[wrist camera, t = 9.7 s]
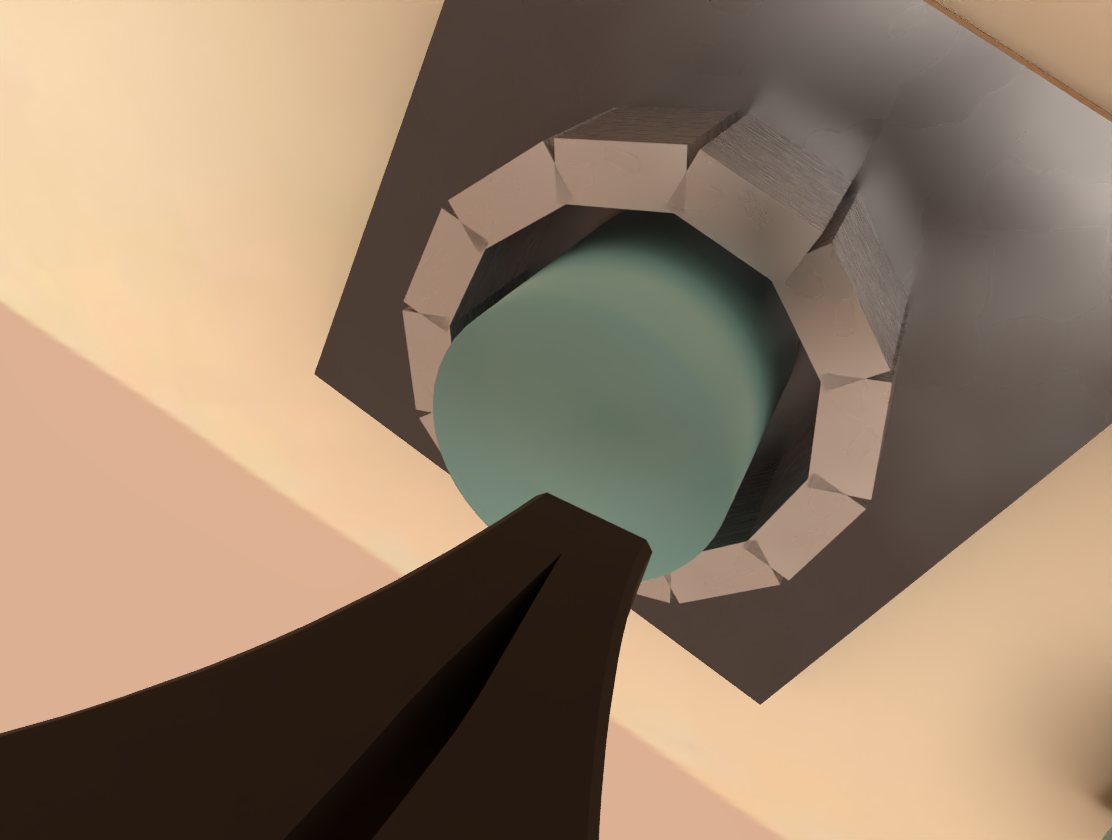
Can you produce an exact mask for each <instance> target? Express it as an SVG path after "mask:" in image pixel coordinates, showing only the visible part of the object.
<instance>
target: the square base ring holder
mask: <svg viewBox="0 0 1112 840" xmlns="http://www.w3.org/2000/svg"><path fill="white" fill-rule="evenodd" d="M631 210H642V211H654V212H666V213H674V214H676V215H677V216H679V217H680V218H682V219H683V220H685V221H686V222H687V223H689V224H690V225H692V226H693V227H695V228H696V229H698V230H699V231H701V232H702V233H703V234H705V235H706V236H708V237H709V238H711V239H712V240H714V241H715V242H716V243H718V244H719V245H721V246H722V247H724V248H725V249H727V250H728V251H729V252H731V253H732V254H734V255H735V256H737V257H738V258H740V259H741V260H743V261H744V262H745V263H747V264H748V265H750V266H751V267H753V268H754V269H756V270H757V271H758V272H760V273H761V274H763V275H764V276H766V277H767V278H769V279H770V280H771V281H772V282H773V284H774V286H775V289H776V291H777V293H778V295H779V297H780V299H781V301H782V303H783V305H784V307H785V309H786V311H787V313H788V315H789V317H790V319H791V322H792V324H793V326H794V328H795V330H796V332H797V334H798V336H799V341H798V352H797V356H796V361H795V365H794V368H793V371H792V373H791V376H790V378H789V381H788V383H787V385H786V387H785V389H784V391H783V394H782V396H781V398H780V400H779V402H778V404H777V407H776V409H775V411H774V413H773V415H772V417H771V420H770V422H769V424H768V426H767V428H766V430H765V433H764V435H763V437H762V439H761V441H760V443H759V445H758V448H757V450H756V452H755V454H754V456H753V458H752V461H751V463H750V465H749V467H748V469H747V471H746V474H745V476H744V478H743V480H742V482H741V484H740V487H739V489H738V491H737V493H736V495H735V497H734V499H733V502H732V504H731V506H730V508H729V510H728V512H727V515H726V517H725V519H724V521H723V523H722V525H721V527H720V528H719V530H718V532H717V533H716V535H715V537H714V538H713V540H712V541H711V542H710V543H709V544H708V546H707V547H706V548H705V549H704V550H703V551H702V552H701V553H700V554H699V555H698V556H696V557H695V558H694V559H693V560H692V561H690V562H689V563H687V564H686V565H684V566H682V567H681V568H679V569H677V570H675V571H673V572H671V573H668V574H666V575H663V576H661V577H658V578H653V579H649V580H645V581H641V584H640V586H639V589H638V591H637V594H636V597H635V599H634V602H633V604H632V607H631V609H632V610H633V611H635V612H636V613H637V614H639V615H640V616H641V617H643V618H644V619H645V620H647V621H648V622H649V623H651V624H652V625H653V626H655V627H656V628H657V629H659V630H660V631H661V632H663V633H664V634H666V635H667V636H668V637H670V638H671V639H672V640H674V641H675V642H676V643H678V644H679V645H680V646H682V647H683V648H684V649H686V650H687V651H688V652H690V653H691V654H693V655H694V656H695V657H697V658H698V659H699V660H701V661H702V662H703V663H705V664H706V665H707V666H709V667H710V668H711V669H713V670H714V671H715V672H717V673H718V674H719V675H721V676H722V677H724V678H725V679H726V680H728V681H729V682H730V683H732V684H733V685H734V686H736V687H737V688H738V689H740V690H741V691H742V692H744V693H745V694H746V695H748V696H749V697H751V698H752V699H753V700H755V701H756V702H757V703H759V704H760V705H761V704H762V703H763V702H764V701H766V700H767V699H768V698H769V697H770V696H772V695H773V694H774V693H775V692H777V691H778V690H779V689H780V688H782V687H783V686H784V685H785V684H787V683H788V682H789V681H790V680H792V679H793V678H794V677H795V676H797V675H798V674H799V673H800V672H802V671H803V670H804V669H805V668H807V667H808V666H809V665H810V664H812V663H813V662H814V661H815V660H817V659H818V658H819V657H820V656H822V655H823V654H824V653H825V652H827V651H828V650H829V649H830V648H832V647H833V646H834V645H835V644H837V643H838V642H839V641H840V640H842V639H843V638H844V637H845V636H847V635H848V634H849V633H850V632H852V631H853V630H854V629H855V628H857V627H858V626H859V625H860V624H862V623H863V622H864V621H865V620H867V619H868V618H869V617H870V616H872V615H873V614H874V613H875V612H877V611H878V610H879V609H880V608H882V607H883V606H884V605H885V604H887V603H888V602H889V601H890V600H892V599H893V598H894V597H895V596H897V595H898V594H899V593H900V592H902V591H903V590H904V589H905V588H907V587H908V586H909V585H910V584H912V583H913V582H914V581H915V580H917V579H918V578H919V577H920V576H922V575H923V574H924V573H925V572H927V571H928V570H929V569H930V568H932V567H933V566H934V565H935V564H937V563H938V562H939V561H940V560H942V559H943V558H944V557H945V556H947V555H948V554H949V553H950V552H952V551H953V550H954V549H955V548H957V547H958V546H959V545H960V544H962V543H963V542H964V541H965V540H967V539H968V538H969V537H970V536H972V535H973V534H974V533H975V532H977V531H978V530H979V529H980V528H982V527H983V526H984V525H985V524H987V523H988V522H989V521H990V520H992V519H993V518H994V517H995V516H997V515H998V514H999V513H1000V512H1002V511H1003V510H1004V509H1005V508H1007V507H1008V506H1009V505H1010V504H1012V503H1013V502H1014V501H1015V500H1017V499H1018V498H1019V497H1020V496H1022V495H1023V494H1024V493H1025V492H1027V491H1028V490H1029V489H1030V488H1032V487H1033V486H1034V485H1035V484H1037V483H1038V482H1039V481H1040V480H1042V479H1043V478H1044V477H1045V476H1047V475H1048V474H1049V473H1050V472H1052V471H1053V470H1054V469H1055V468H1057V467H1058V466H1059V465H1060V464H1062V463H1063V462H1064V461H1065V460H1067V459H1068V458H1069V457H1070V456H1071V455H1073V454H1074V453H1075V452H1076V451H1078V450H1079V449H1080V448H1081V447H1083V446H1084V445H1085V444H1086V443H1088V442H1089V441H1090V440H1091V439H1093V438H1094V437H1095V436H1096V435H1098V434H1099V433H1100V432H1101V431H1103V430H1104V429H1105V428H1106V427H1108V426H1109V425H1110V424H1111V423H1112V115H1111V114H1109V113H1107V112H1106V111H1104V110H1103V109H1101V108H1100V107H1098V106H1097V105H1095V104H1094V103H1092V102H1090V101H1089V100H1087V99H1086V98H1084V97H1083V96H1081V95H1080V94H1078V93H1076V92H1075V91H1073V90H1072V89H1070V88H1069V87H1067V86H1066V85H1064V84H1063V83H1061V82H1059V81H1058V80H1056V79H1055V78H1053V77H1052V76H1050V75H1049V74H1047V73H1045V72H1044V71H1042V70H1041V69H1039V68H1038V67H1036V66H1035V65H1033V64H1032V63H1030V62H1028V61H1027V60H1025V59H1024V58H1022V57H1021V56H1019V55H1018V54H1016V53H1014V52H1013V51H1011V50H1010V49H1008V48H1007V47H1005V46H1004V45H1002V44H1001V43H999V42H997V41H996V40H994V39H993V38H991V37H990V36H988V35H987V34H985V33H984V32H982V31H980V30H979V29H977V28H976V27H974V26H973V25H971V24H970V23H968V22H966V21H965V20H963V19H962V18H960V17H959V16H957V15H956V14H954V13H953V12H951V11H949V10H948V9H946V8H945V7H943V6H942V5H940V4H939V3H937V2H935V1H934V0H445V1H444V4H443V7H442V10H441V13H440V15H439V18H438V21H437V24H436V27H435V30H434V33H433V36H432V38H431V41H430V44H429V47H428V50H427V53H426V56H425V58H424V61H423V64H422V67H421V70H420V73H419V76H418V79H417V81H416V84H415V87H414V90H413V93H412V96H411V99H410V101H409V104H408V107H407V110H406V113H405V116H404V119H403V122H402V124H401V127H400V130H399V133H398V136H397V139H396V142H395V144H394V147H393V150H392V153H391V156H390V159H389V162H388V165H387V167H386V170H385V173H384V176H383V179H382V182H381V185H380V187H379V190H378V193H377V196H376V199H375V202H374V205H373V208H372V210H371V213H370V216H369V219H368V222H367V225H366V228H365V230H364V233H363V236H362V239H361V242H360V245H359V248H358V251H357V253H356V256H355V259H354V262H353V265H352V268H351V271H350V273H349V276H348V279H347V282H346V285H345V288H344V291H343V294H342V296H341V299H340V302H339V305H338V308H337V311H336V314H335V316H334V319H333V322H332V325H331V328H330V331H329V334H328V337H327V339H326V342H325V345H324V348H323V351H322V354H321V357H320V359H319V362H318V365H317V368H316V371H315V375H316V376H318V377H319V378H320V379H322V380H323V381H324V382H326V383H327V384H328V385H330V386H331V387H332V388H334V389H335V390H336V391H338V392H339V393H341V394H342V395H343V396H345V397H346V398H347V399H349V400H350V401H351V402H353V403H354V404H355V405H357V406H358V407H359V408H361V409H362V410H363V411H365V412H366V413H367V414H369V415H370V416H372V417H373V418H374V419H376V420H377V421H378V422H380V423H381V424H382V425H384V426H385V427H386V428H388V429H389V430H390V431H392V432H393V433H394V434H396V435H397V436H399V437H400V438H401V439H403V440H404V441H405V442H407V443H408V444H409V445H411V446H412V447H413V448H415V449H416V450H417V451H419V452H420V453H421V454H423V455H424V456H425V457H427V458H428V459H430V460H431V461H432V462H434V463H435V464H436V465H438V466H439V467H440V468H442V469H443V470H444V471H446V472H447V473H448V474H450V473H449V471H448V469H447V467H446V465H445V462H444V460H443V457H442V455H441V452H440V448H439V445H438V441H437V437H436V433H435V426H434V420H433V394H434V385H435V381H436V377H437V373H438V369H439V366H440V364H441V362H442V360H443V357H444V355H445V353H446V351H447V350H448V348H449V346H450V345H451V343H452V342H453V340H454V339H455V338H456V337H457V335H458V334H459V333H460V332H461V331H462V330H463V329H464V328H465V327H466V326H467V325H468V324H470V323H471V322H472V321H473V320H475V319H476V318H477V317H478V316H480V315H481V314H482V313H484V312H485V311H487V310H488V309H489V308H491V307H492V306H493V305H495V304H496V303H497V302H499V301H500V300H501V299H503V298H504V297H505V296H507V295H508V294H509V293H511V292H512V291H513V290H515V289H516V288H517V287H519V286H520V285H521V284H523V283H524V282H525V281H527V280H528V279H529V278H531V277H532V276H534V275H535V274H536V273H538V272H539V271H540V270H542V269H543V268H544V267H546V266H547V265H548V264H550V263H551V262H552V261H554V260H555V259H556V258H558V257H559V256H560V255H562V254H563V253H564V252H566V251H567V250H568V249H570V248H571V247H572V246H574V245H575V244H576V243H578V242H579V241H581V240H582V239H583V238H585V237H586V236H587V235H589V234H590V233H591V232H593V231H594V230H595V229H597V228H598V227H599V226H601V225H602V224H603V223H605V222H607V221H609V220H610V219H612V218H614V217H616V216H618V215H620V214H623V213H626V212H628V211H631Z"/></svg>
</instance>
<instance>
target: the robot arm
mask: <svg viewBox="0 0 1112 840" xmlns="http://www.w3.org/2000/svg"><path fill="white" fill-rule="evenodd" d="M651 555H652V550H651V548H650V546H649V544H648V542H647V540H646V539H644V538H642V537H640V536H638V535H636V534H633V533H631V532H629V531H627V530H625V529H623V528H621V527H619V526H617V525H615V524H612V523H610V522H608V521H606V520H604V519H602V518H600V517H598V516H596V515H594V514H591V513H589V512H587V511H585V510H583V509H581V508H579V507H577V506H575V505H573V504H571V503H568V502H566V501H564V500H562V499H560V498H558V497H556V496H554V495H552V494H550V493H547V492H546V493H543V494H540V495H537V496H535V497H533V498H532V499H530V500H529V501H527V502H526V503H524V504H523V505H522V506H520V507H519V508H517V509H515V510H514V511H512V512H511V513H509V514H508V515H506V516H505V517H503V518H502V519H500V520H499V521H497V522H495V523H494V524H492V525H491V526H489V527H487V528H486V529H484V530H483V531H481V532H479V533H478V534H476V535H474V536H473V537H471V538H469V539H468V540H466V541H464V542H463V543H461V544H459V545H458V546H456V547H455V548H453V549H451V550H449V551H448V552H446V553H444V554H442V555H441V556H439V557H437V558H435V559H433V560H432V561H430V562H428V563H426V564H424V565H423V566H421V567H419V568H417V569H415V570H414V571H412V572H410V573H408V574H407V575H405V576H403V577H401V578H399V579H398V580H396V581H394V582H392V583H390V584H388V585H387V586H385V587H383V588H381V589H379V590H377V591H375V592H373V593H371V594H369V595H367V596H365V597H362V598H360V599H358V600H356V601H354V602H352V603H350V604H348V605H346V606H344V607H342V608H340V609H338V610H336V611H334V612H332V613H330V614H328V615H326V616H324V617H322V618H320V619H318V620H316V621H314V622H311V623H309V624H307V625H305V626H303V627H300V628H298V629H296V630H294V631H291V632H289V633H287V634H285V635H282V636H280V637H278V638H276V639H273V640H271V641H269V642H267V643H264V644H262V645H259V646H257V647H255V648H252V649H250V650H247V651H245V652H242V653H240V654H237V655H235V656H232V657H230V658H227V659H225V660H222V661H220V662H217V663H215V664H212V665H210V666H207V667H204V668H202V669H199V670H197V671H194V672H191V673H188V674H185V675H183V676H180V677H177V678H174V679H171V680H168V681H166V682H163V683H160V684H157V685H154V686H152V687H149V688H146V689H143V690H140V691H137V692H135V693H132V694H129V695H126V696H124V697H120V698H118V699H114V700H112V701H109V702H105V703H102V704H99V705H96V706H93V707H90V708H87V709H84V710H80V711H77V712H74V713H71V714H68V715H64V716H61V717H57V718H54V719H50V720H47V721H43V722H40V723H36V724H33V725H29V726H25V727H22V728H18V729H15V730H11V731H8V732H4V733H1V734H0V840H599V824H600V809H601V794H602V783H603V772H604V760H605V749H606V739H607V731H608V723H609V714H610V708H611V702H612V695H613V689H614V682H615V676H616V669H617V663H618V657H619V652H620V647H621V642H622V637H623V633H624V629H625V625H626V621H627V617H628V615H629V612H630V609H631V607H632V604H633V602H634V599H635V597H636V594H637V591H638V589H639V586H640V584H641V581H642V578H643V576H644V573H645V571H646V568H647V565H648V563H649V560H650V558H651Z"/></svg>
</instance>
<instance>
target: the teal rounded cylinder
mask: <svg viewBox="0 0 1112 840" xmlns="http://www.w3.org/2000/svg"><path fill="white" fill-rule="evenodd" d="M798 341H799V336H798V334H797V332H796V330H795V328H794V326H793V324H792V322H791V319H790V317H789V315H788V313H787V311H786V309H785V307H784V305H783V303H782V301H781V299H780V297H779V295H778V293H777V291H776V289H775V286H774V284H773V282H772V281H771V280H770V279H769V278H767V277H766V276H764V275H763V274H761V273H760V272H758V271H757V270H756V269H754V268H753V267H751V266H750V265H748V264H747V263H745V262H744V261H743V260H741V259H740V258H738V257H737V256H735V255H734V254H732V253H731V252H729V251H728V250H727V249H725V248H724V247H722V246H721V245H719V244H718V243H716V242H715V241H714V240H712V239H711V238H709V237H708V236H706V235H705V234H703V233H702V232H701V231H699V230H698V229H696V228H695V227H693V226H692V225H690V224H689V223H687V222H686V221H685V220H683V219H682V218H680V217H679V216H677V215H676V214H674V213H666V212H654V211H642V210H631V211H628V212H626V213H623V214H620V215H618V216H616V217H614V218H612V219H610V220H609V221H607V222H605V223H603V224H602V225H601V226H599V227H598V228H597V229H595V230H594V231H593V232H591V233H590V234H589V235H587V236H586V237H585V238H583V239H582V240H581V241H579V242H578V243H576V244H575V245H574V246H572V247H571V248H570V249H568V250H567V251H566V252H564V253H563V254H562V255H560V256H559V257H558V258H556V259H555V260H554V261H552V262H551V263H550V264H548V265H547V266H546V267H544V268H543V269H542V270H540V271H539V272H538V273H536V274H535V275H534V276H532V277H531V278H529V279H528V280H527V281H525V282H524V283H523V284H521V285H520V286H519V287H517V288H516V289H515V290H513V291H512V292H511V293H509V294H508V295H507V296H505V297H504V298H503V299H501V300H500V301H499V302H497V303H496V304H495V305H493V306H492V307H491V308H489V309H488V310H487V311H485V312H484V313H482V314H481V315H480V316H478V317H477V318H476V319H475V320H473V321H472V322H471V323H470V324H468V325H467V326H466V327H465V328H464V329H463V330H462V331H461V332H460V333H459V334H458V335H457V337H456V338H455V339H454V340H453V342H452V343H451V345H450V346H449V348H448V350H447V351H446V353H445V355H444V357H443V360H442V362H441V364H440V366H439V369H438V373H437V377H436V381H435V385H434V394H433V420H434V426H435V433H436V437H437V441H438V445H439V448H440V452H441V455H442V457H443V460H444V462H445V465H446V467H447V469H448V471H449V473H450V475H451V477H452V479H453V481H454V483H455V485H456V486H457V488H458V489H459V491H460V492H461V494H462V495H463V497H464V499H465V500H466V501H467V503H468V504H469V505H470V506H471V508H472V509H473V510H474V511H475V513H476V514H477V515H478V516H479V517H480V518H481V519H482V520H483V521H484V522H485V523H486V524H487V526H488V527H489V526H491V525H492V524H494V523H495V522H497V521H499V520H500V519H502V518H503V517H505V516H506V515H508V514H509V513H511V512H512V511H514V510H515V509H517V508H519V507H520V506H522V505H523V504H524V503H526V502H527V501H529V500H530V499H532V498H533V497H535V496H537V495H540V494H543V493H546V492H547V493H550V494H552V495H554V496H556V497H558V498H560V499H562V500H564V501H566V502H568V503H571V504H573V505H575V506H577V507H579V508H581V509H583V510H585V511H587V512H589V513H591V514H594V515H596V516H598V517H600V518H602V519H604V520H606V521H608V522H610V523H612V524H615V525H617V526H619V527H621V528H623V529H625V530H627V531H629V532H631V533H633V534H636V535H638V536H640V537H642V538H644V539H646V540H647V542H648V544H649V546H650V548H651V550H652V555H651V558H650V560H649V563H648V565H647V568H646V571H645V573H644V576H643V578H642V581H645V580H649V579H653V578H658V577H661V576H663V575H666V574H668V573H671V572H673V571H675V570H677V569H679V568H681V567H682V566H684V565H686V564H687V563H689V562H690V561H692V560H693V559H694V558H695V557H696V556H698V555H699V554H700V553H701V552H702V551H703V550H704V549H705V548H706V547H707V546H708V544H709V543H710V542H711V541H712V540H713V538H714V537H715V535H716V533H717V532H718V530H719V528H720V527H721V525H722V523H723V521H724V519H725V517H726V515H727V512H728V510H729V508H730V506H731V504H732V502H733V499H734V497H735V495H736V493H737V491H738V489H739V487H740V484H741V482H742V480H743V478H744V476H745V474H746V471H747V469H748V467H749V465H750V463H751V461H752V458H753V456H754V454H755V452H756V450H757V448H758V445H759V443H760V441H761V439H762V437H763V435H764V433H765V430H766V428H767V426H768V424H769V422H770V420H771V417H772V415H773V413H774V411H775V409H776V407H777V404H778V402H779V400H780V398H781V396H782V394H783V391H784V389H785V387H786V385H787V383H788V381H789V378H790V376H791V373H792V371H793V368H794V365H795V361H796V356H797V352H798Z"/></svg>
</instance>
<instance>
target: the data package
mask: <svg viewBox="0 0 1112 840" xmlns="http://www.w3.org/2000/svg"><path fill="white" fill-rule="evenodd" d="M1102 840H1112V828H1111V829H1110V830H1109V831H1108V832H1107V833H1106V834H1105V836H1104V837H1103V839H1102Z"/></svg>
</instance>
